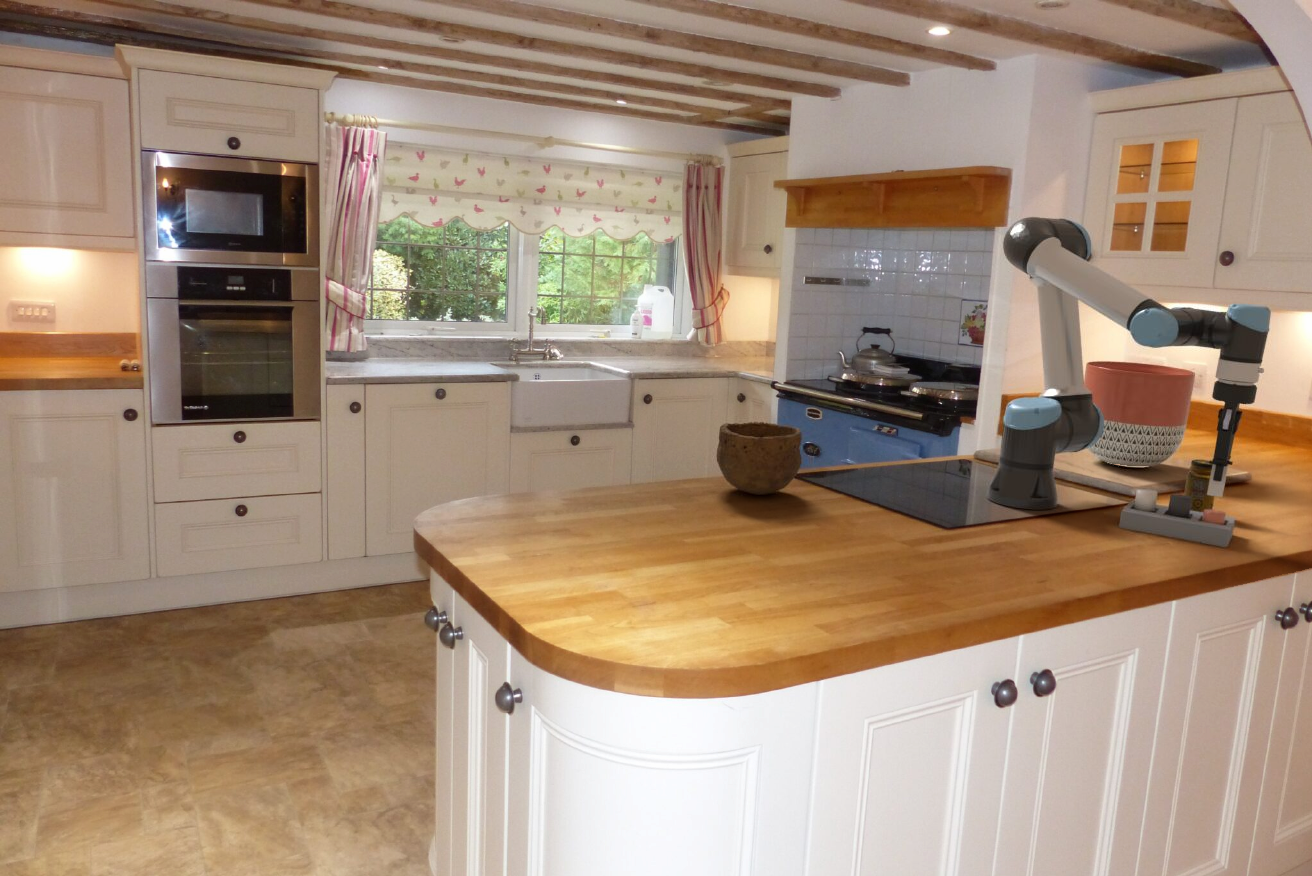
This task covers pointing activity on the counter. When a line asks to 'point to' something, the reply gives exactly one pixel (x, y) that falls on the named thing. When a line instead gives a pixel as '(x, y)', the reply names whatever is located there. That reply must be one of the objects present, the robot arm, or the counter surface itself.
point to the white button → (1145, 499)
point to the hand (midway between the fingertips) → (1214, 495)
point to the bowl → (759, 455)
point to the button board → (1177, 525)
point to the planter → (1139, 410)
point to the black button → (1179, 505)
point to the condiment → (1199, 485)
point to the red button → (1214, 516)
